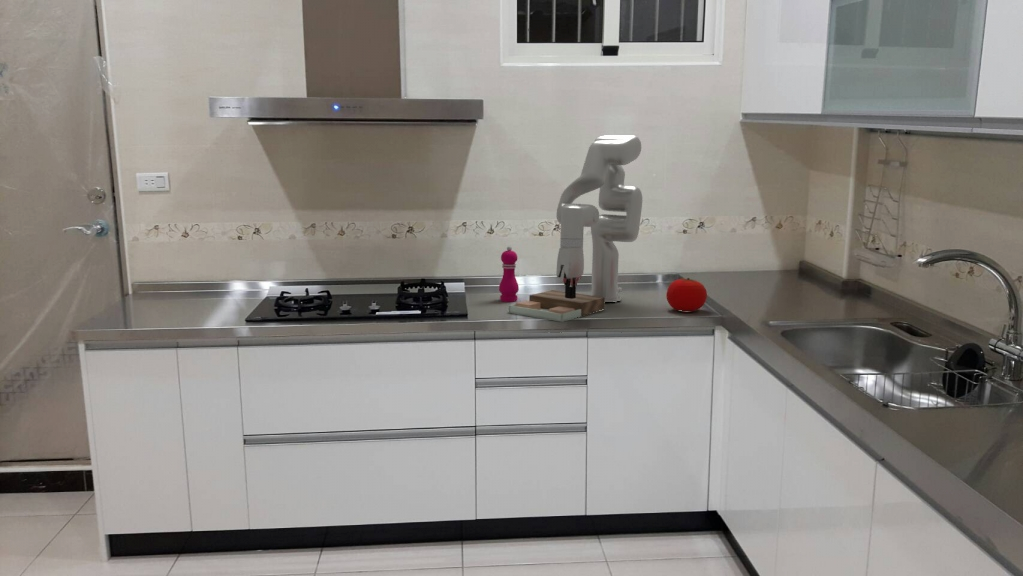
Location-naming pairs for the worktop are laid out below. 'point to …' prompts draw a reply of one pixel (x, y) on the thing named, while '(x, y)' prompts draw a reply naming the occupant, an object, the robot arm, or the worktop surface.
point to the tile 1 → (529, 304)
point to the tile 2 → (561, 310)
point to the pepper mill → (508, 277)
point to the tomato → (686, 295)
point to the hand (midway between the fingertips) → (570, 298)
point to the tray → (544, 313)
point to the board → (569, 301)
